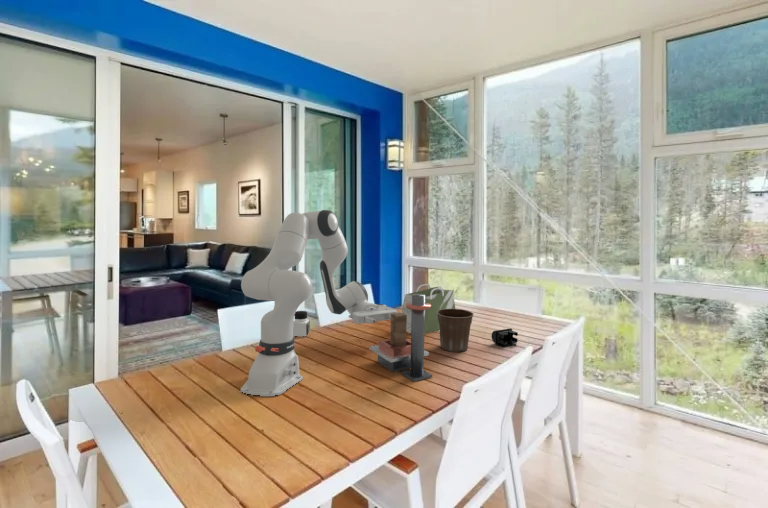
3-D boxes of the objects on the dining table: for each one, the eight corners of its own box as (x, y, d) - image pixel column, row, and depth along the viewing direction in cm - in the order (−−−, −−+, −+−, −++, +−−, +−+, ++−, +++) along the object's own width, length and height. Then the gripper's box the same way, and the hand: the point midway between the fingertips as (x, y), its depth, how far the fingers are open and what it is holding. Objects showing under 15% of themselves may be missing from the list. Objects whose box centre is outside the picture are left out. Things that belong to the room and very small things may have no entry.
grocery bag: (417, 336, 198) (418, 289, 196) (398, 330, 208) (399, 286, 206) (459, 326, 218) (460, 283, 216) (440, 320, 229) (441, 280, 227)
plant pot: (472, 355, 170) (474, 318, 169) (434, 352, 174) (435, 315, 172) (472, 343, 186) (473, 309, 185) (437, 341, 190) (438, 307, 188)
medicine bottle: (306, 337, 193) (306, 313, 192) (291, 337, 193) (291, 312, 192) (309, 333, 200) (309, 309, 199) (295, 333, 201) (295, 309, 200)
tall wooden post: (390, 348, 159) (390, 313, 158) (400, 346, 161) (400, 312, 160) (396, 351, 155) (396, 316, 154) (406, 350, 157) (406, 314, 156)
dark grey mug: (506, 340, 192) (507, 326, 192) (518, 344, 186) (518, 330, 185) (490, 343, 188) (491, 329, 187) (501, 347, 181) (502, 333, 181)
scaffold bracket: (369, 361, 162) (369, 287, 159) (404, 354, 170) (405, 284, 168) (404, 384, 139) (405, 299, 137) (443, 375, 148) (444, 295, 145)
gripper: (346, 308, 174) (361, 315, 162) (387, 303, 184) (403, 310, 173) (346, 322, 175) (361, 330, 163) (387, 317, 185) (403, 324, 173)
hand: (383, 319), depth 168 cm, fingers open, 8 cm apart
